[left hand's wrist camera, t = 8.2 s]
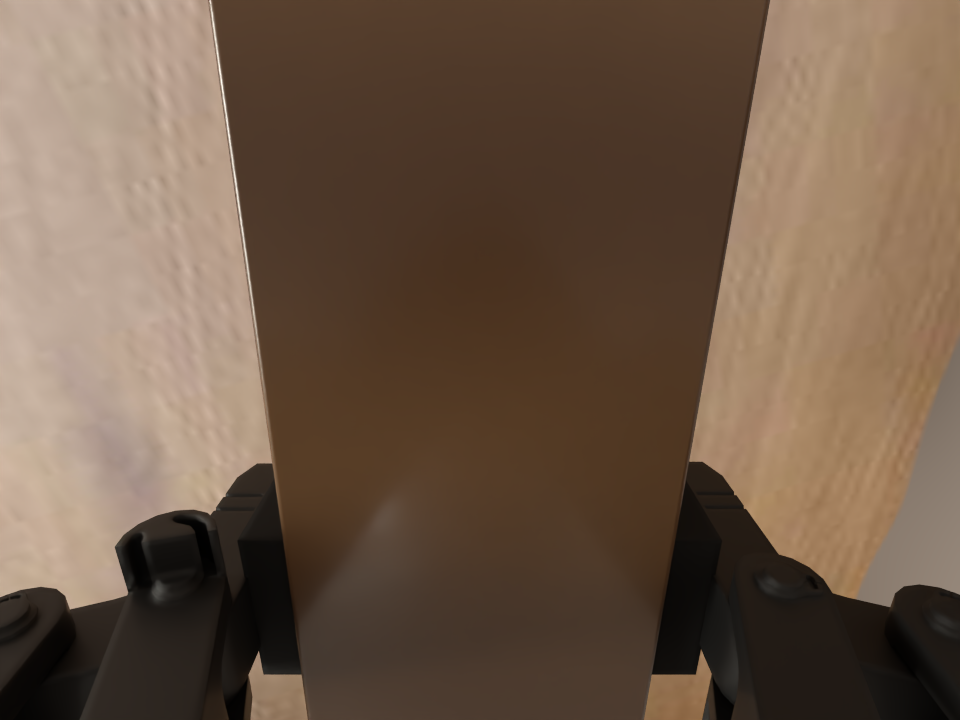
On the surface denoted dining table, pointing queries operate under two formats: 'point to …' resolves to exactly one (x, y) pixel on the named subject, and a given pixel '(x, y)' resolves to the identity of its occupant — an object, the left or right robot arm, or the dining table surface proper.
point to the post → (483, 329)
